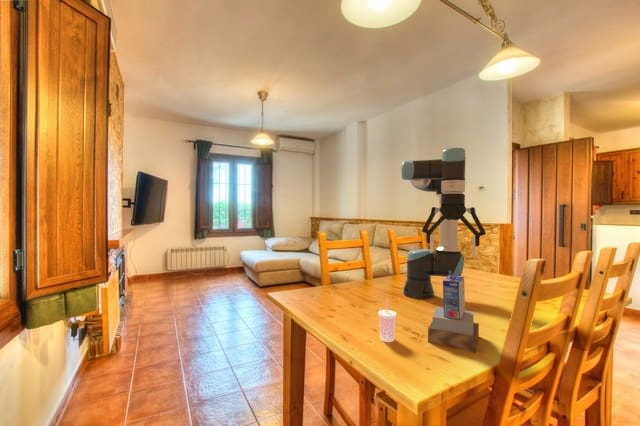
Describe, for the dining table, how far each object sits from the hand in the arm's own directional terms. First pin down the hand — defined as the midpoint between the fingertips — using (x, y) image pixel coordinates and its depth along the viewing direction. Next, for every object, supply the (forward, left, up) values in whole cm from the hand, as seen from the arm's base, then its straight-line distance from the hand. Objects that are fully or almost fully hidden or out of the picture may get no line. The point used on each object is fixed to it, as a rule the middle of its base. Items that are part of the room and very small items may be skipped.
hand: (452, 254), depth 103 cm
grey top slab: (+1, -3, -24) cm, 24 cm away
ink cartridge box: (+1, -3, -20) cm, 20 cm away
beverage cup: (-18, -15, -29) cm, 37 cm away
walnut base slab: (+1, -3, -29) cm, 29 cm away
